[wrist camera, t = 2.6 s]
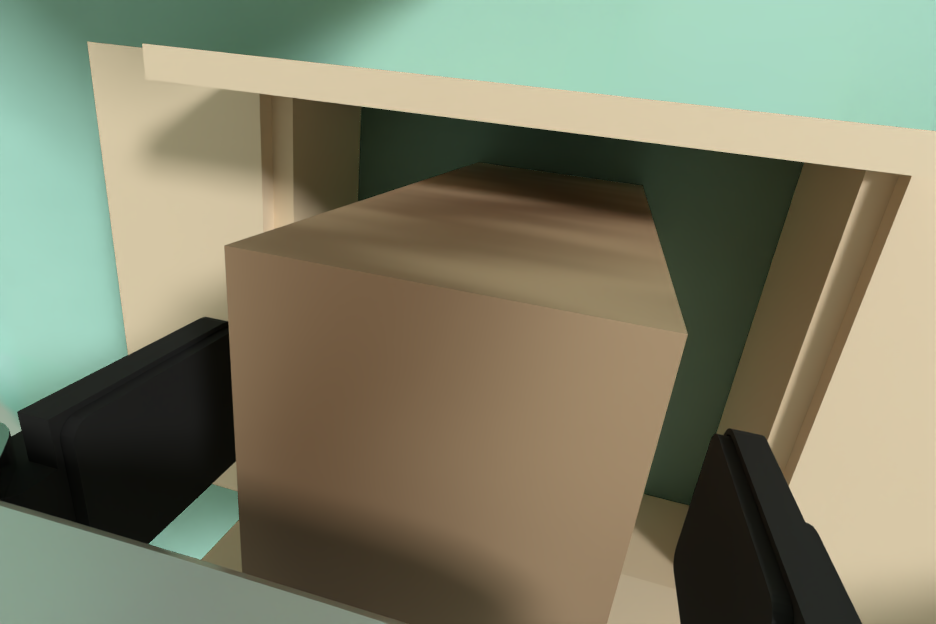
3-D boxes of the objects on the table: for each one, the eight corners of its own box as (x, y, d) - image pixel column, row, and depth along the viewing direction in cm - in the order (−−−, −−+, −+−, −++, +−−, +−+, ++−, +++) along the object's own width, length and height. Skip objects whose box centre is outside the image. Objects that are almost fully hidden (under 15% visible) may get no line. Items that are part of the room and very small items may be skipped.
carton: (1065, 155, 13) (1596, 204, 6) (864, 565, 18) (1026, 866, 11) (207, 58, 18) (-69, 20, 11) (227, 401, 23) (45, 534, 16)
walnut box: (642, 185, 16) (688, 334, 5) (585, 442, 19) (538, 867, 8) (478, 161, 17) (223, 245, 6) (450, 410, 20) (252, 753, 9)
